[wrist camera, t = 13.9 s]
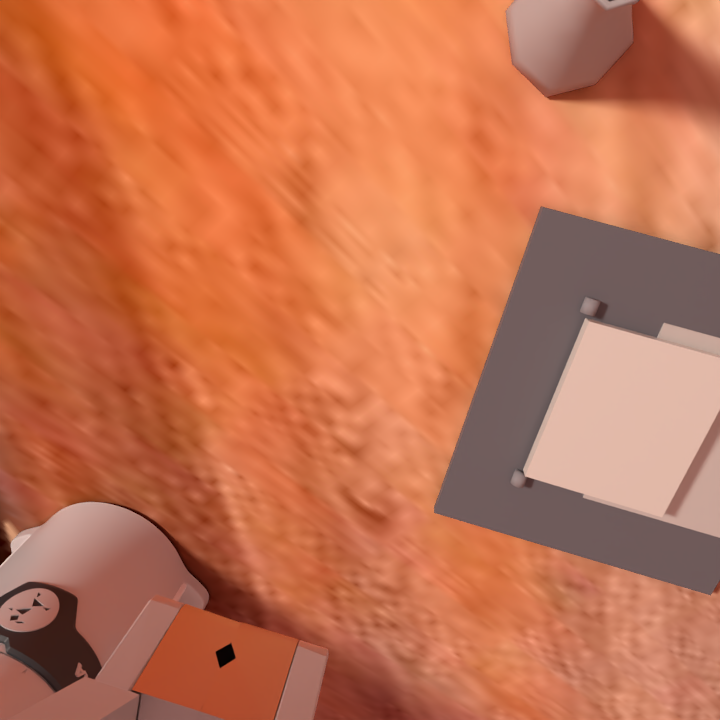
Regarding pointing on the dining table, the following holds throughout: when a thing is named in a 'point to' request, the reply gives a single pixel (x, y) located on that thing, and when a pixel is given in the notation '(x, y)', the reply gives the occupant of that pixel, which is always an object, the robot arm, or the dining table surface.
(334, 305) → the dining table surface
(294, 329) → the dining table surface
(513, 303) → the board
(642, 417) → the tile
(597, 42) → the flask
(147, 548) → the robot arm
